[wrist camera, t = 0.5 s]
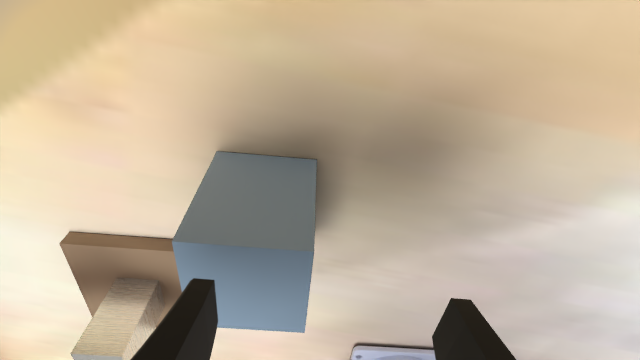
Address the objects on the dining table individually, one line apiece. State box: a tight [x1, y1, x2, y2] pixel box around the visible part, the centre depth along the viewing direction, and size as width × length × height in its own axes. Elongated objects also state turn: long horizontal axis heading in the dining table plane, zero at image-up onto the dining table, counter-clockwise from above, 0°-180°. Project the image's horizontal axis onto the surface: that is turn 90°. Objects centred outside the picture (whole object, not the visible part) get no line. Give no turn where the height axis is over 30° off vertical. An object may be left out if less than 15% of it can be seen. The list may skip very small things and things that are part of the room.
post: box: [71, 277, 165, 360], centre depth 21 cm, size 3×3×5 cm
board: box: [60, 232, 182, 328], centre depth 24 cm, size 8×8×1 cm
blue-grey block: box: [172, 151, 317, 333], centre depth 17 cm, size 5×5×7 cm
